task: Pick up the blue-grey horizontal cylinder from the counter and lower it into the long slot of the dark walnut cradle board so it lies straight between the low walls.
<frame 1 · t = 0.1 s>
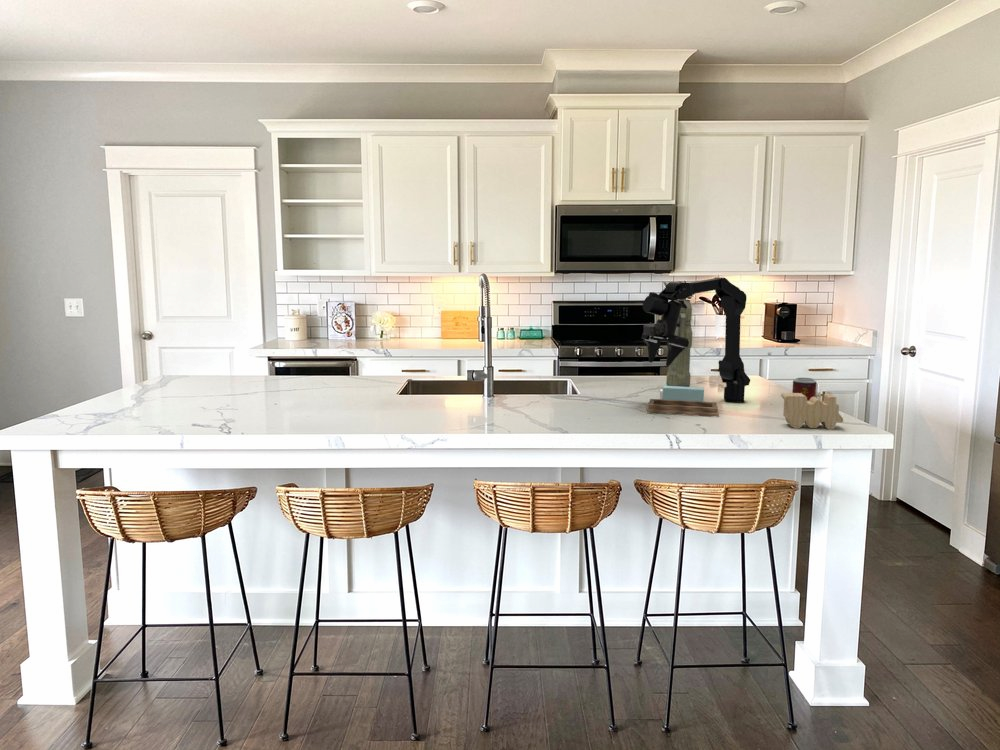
hand: (658, 364, 242), 15 cm above the countertop, tool pointing down, fingers open, 9 cm apart
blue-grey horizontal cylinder: (682, 402, 256), on the countertop
soda can: (802, 416, 235), on the countertop
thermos: (677, 391, 278), on the countertop
cradle: (682, 410, 241), on the countertop
toy train: (810, 427, 220), on the countertop
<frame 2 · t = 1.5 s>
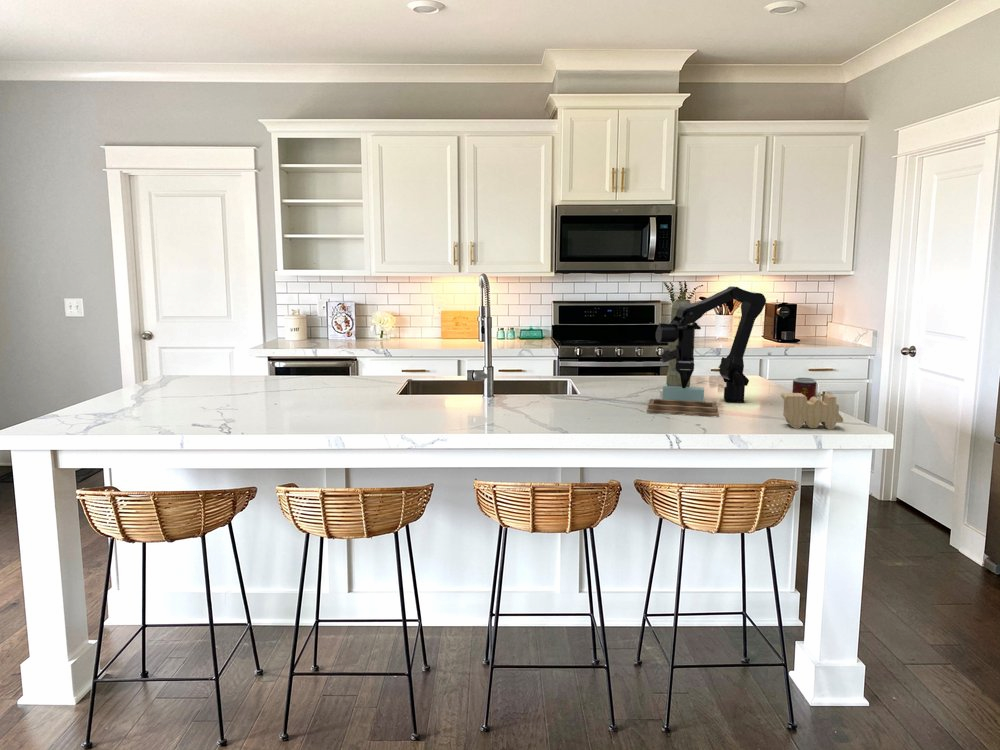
hand: (683, 385, 255), 6 cm above the countertop, tool pointing down, fingers open, 9 cm apart
nothing on the countertop moved.
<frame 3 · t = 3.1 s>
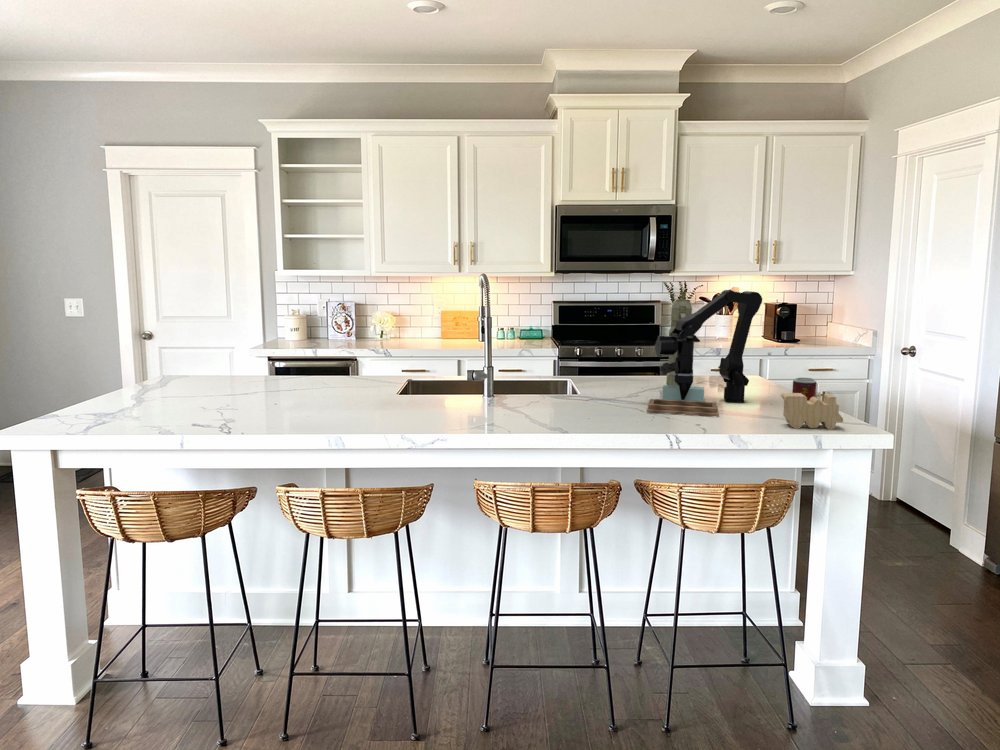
hand: (682, 398, 255), 2 cm above the countertop, tool pointing down, fingers closed on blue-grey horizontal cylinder, 5 cm apart
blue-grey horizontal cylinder: (682, 402, 256), on the countertop, touching gripper
everything else where it was.
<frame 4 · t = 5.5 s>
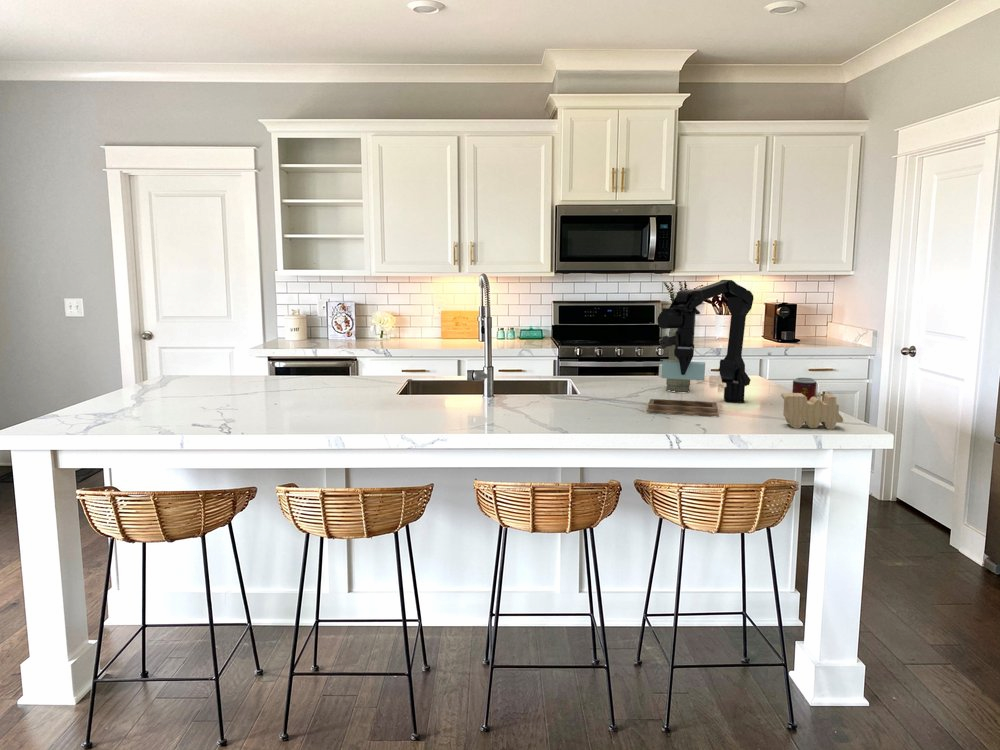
hand: (683, 373, 245), 12 cm above the countertop, tool pointing down, fingers closed on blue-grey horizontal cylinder, 5 cm apart
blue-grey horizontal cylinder: (682, 378, 245), point 10 cm above the countertop, touching gripper
everything else where it was.
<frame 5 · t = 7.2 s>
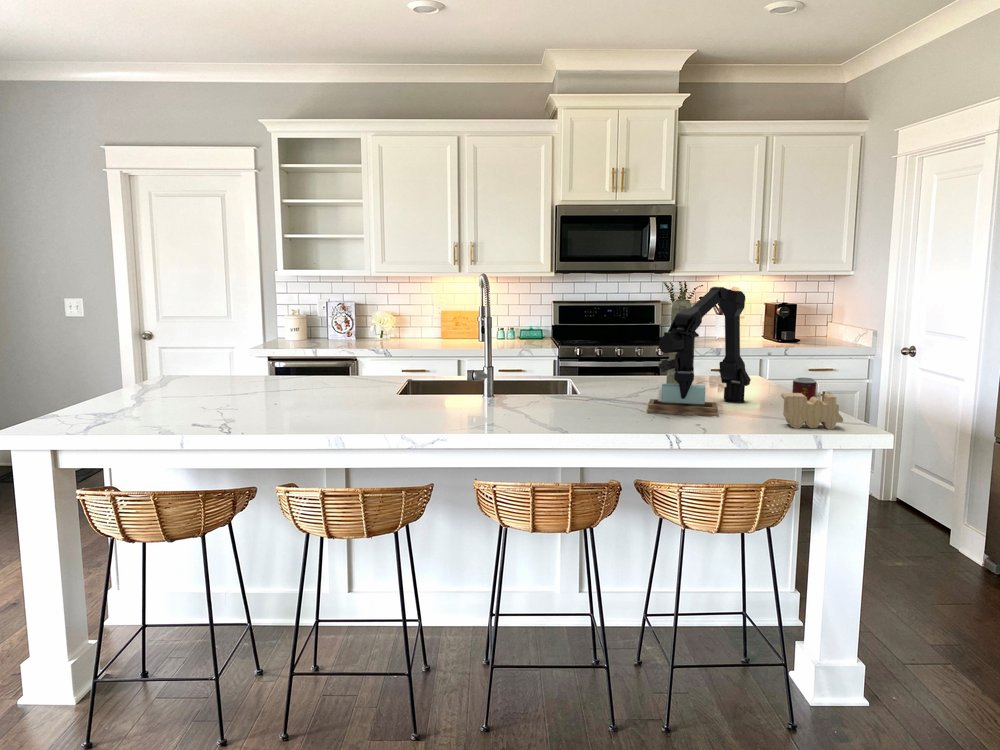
hand: (683, 397, 241), 5 cm above the countertop, tool pointing down, fingers closed on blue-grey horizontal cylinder, 5 cm apart
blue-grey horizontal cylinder: (682, 401, 241), point 3 cm above the countertop, touching gripper
everything else where it was.
when the fingers open (3 cm above the countertop, at t = 8.3 s): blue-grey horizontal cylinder stays where it is, resting on cradle.
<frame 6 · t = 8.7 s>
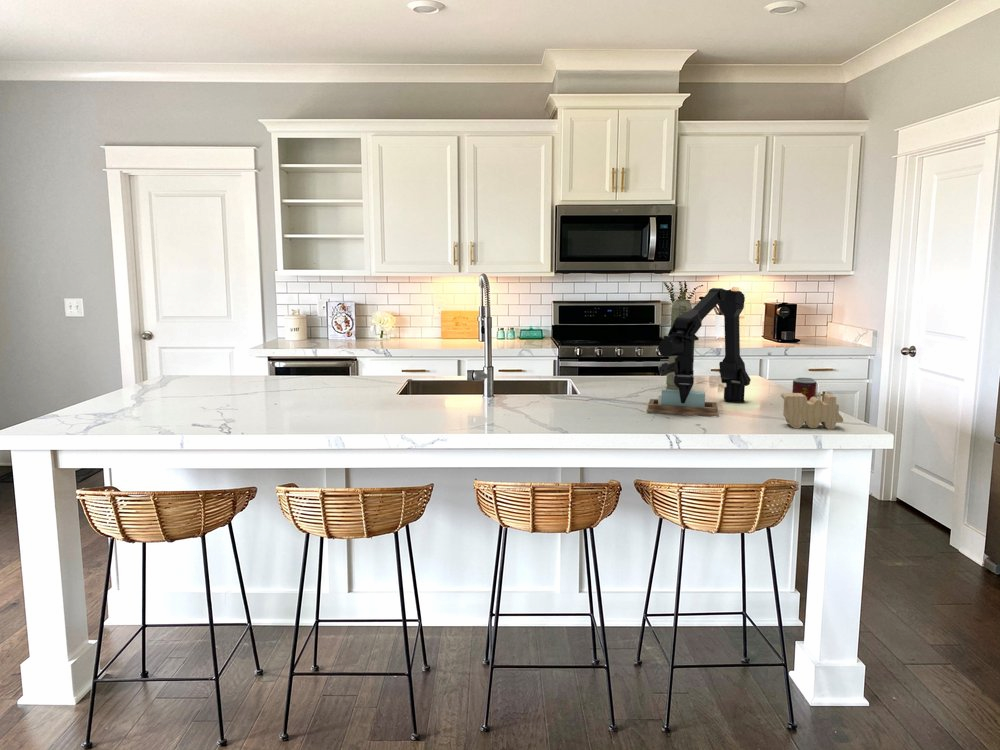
hand: (682, 400, 241), 3 cm above the countertop, tool pointing down, fingers open, 9 cm apart
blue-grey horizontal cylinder: (682, 407, 241), point 1 cm above the countertop, touching cradle
everything else where it was.
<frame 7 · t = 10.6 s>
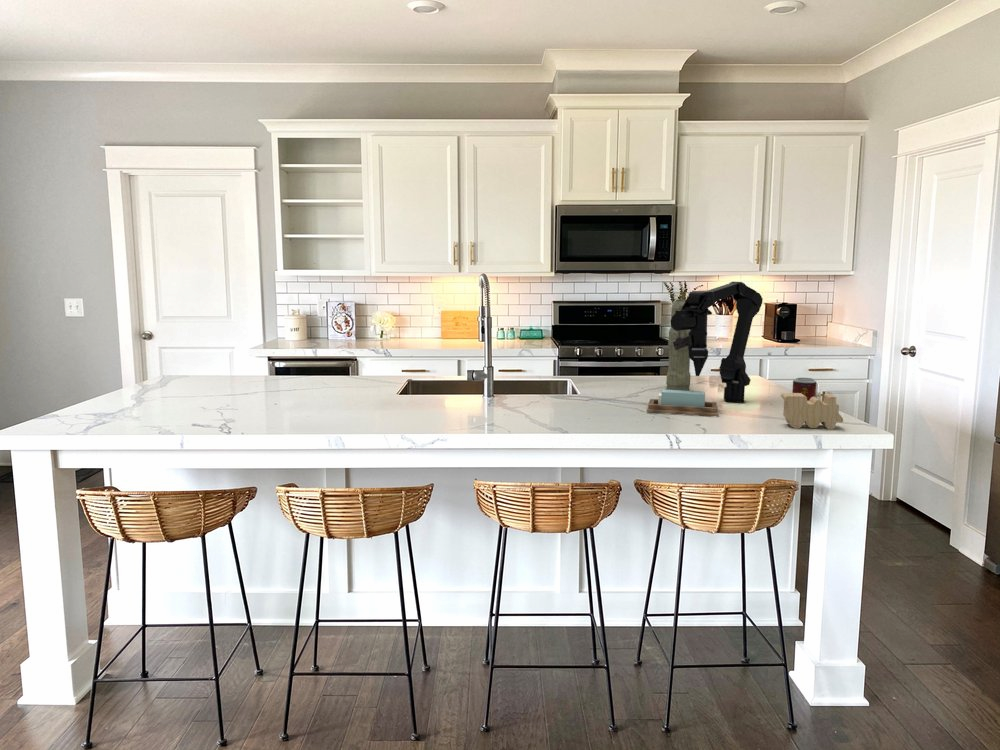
hand: (697, 373, 247), 11 cm above the countertop, tool pointing down, fingers open, 9 cm apart
nothing on the countertop moved.
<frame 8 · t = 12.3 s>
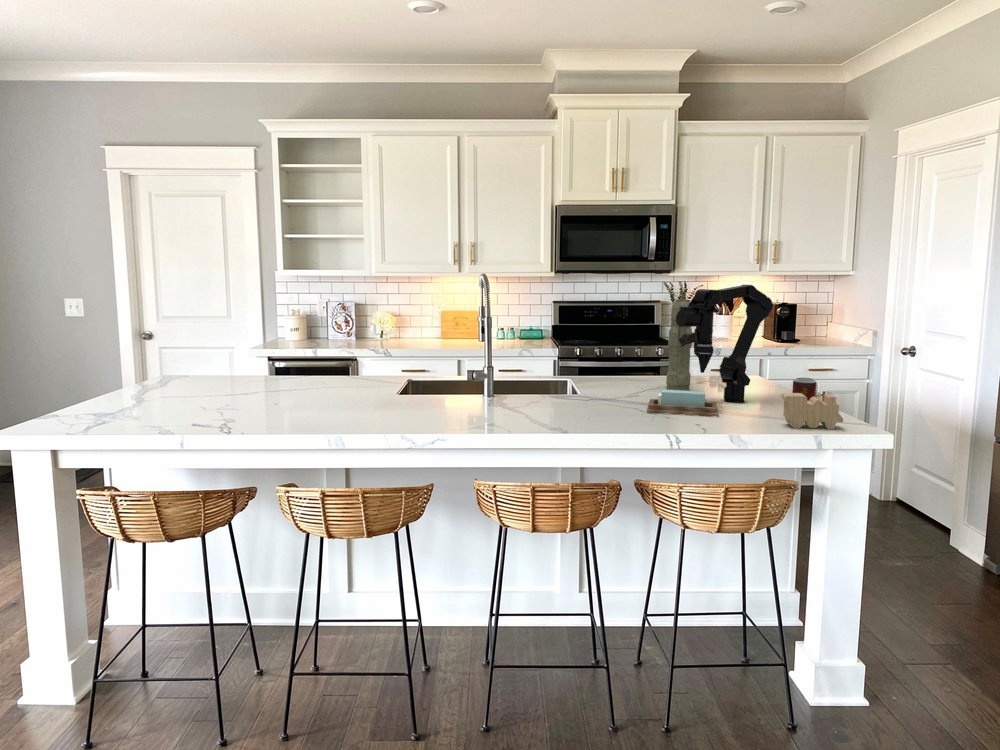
hand: (702, 370, 250), 12 cm above the countertop, tool pointing down, fingers open, 9 cm apart
nothing on the countertop moved.
at the end: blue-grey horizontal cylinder 0.1 cm off-centre on the cradle, point 1.0 cm above the cradle's base; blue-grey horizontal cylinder tilted 0°; the gripper is holding nothing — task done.
